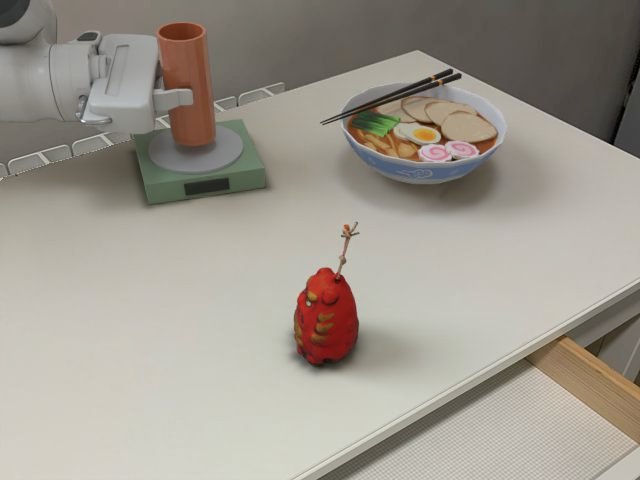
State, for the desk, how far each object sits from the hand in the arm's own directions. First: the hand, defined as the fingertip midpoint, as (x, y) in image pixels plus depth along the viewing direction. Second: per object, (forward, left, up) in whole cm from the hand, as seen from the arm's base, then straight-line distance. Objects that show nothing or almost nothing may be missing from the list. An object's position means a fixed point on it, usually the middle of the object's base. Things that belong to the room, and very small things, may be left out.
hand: (194, 81), depth 86 cm
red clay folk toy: (+6, -39, -12) cm, 41 cm away
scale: (-1, 0, -12) cm, 12 cm away
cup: (-1, 0, -7) cm, 7 cm away
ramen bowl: (+29, -8, -12) cm, 33 cm away
